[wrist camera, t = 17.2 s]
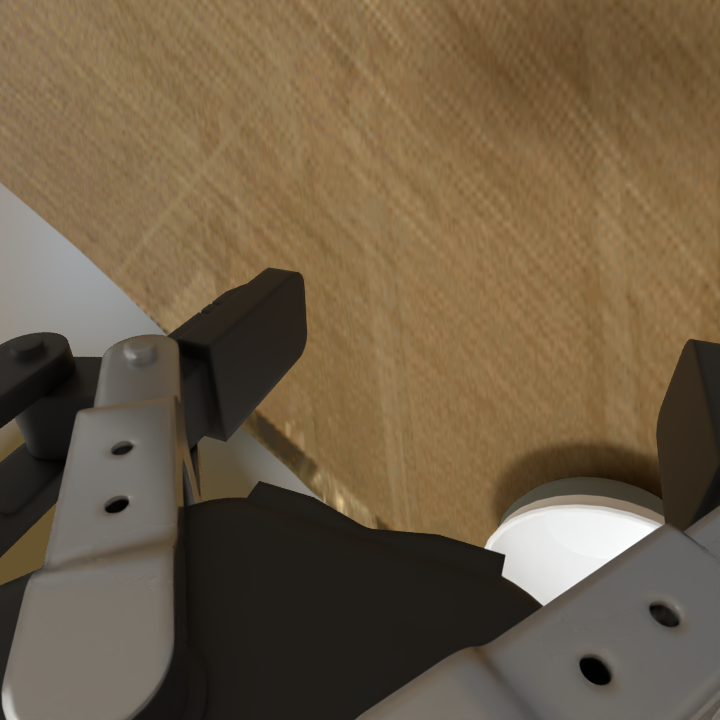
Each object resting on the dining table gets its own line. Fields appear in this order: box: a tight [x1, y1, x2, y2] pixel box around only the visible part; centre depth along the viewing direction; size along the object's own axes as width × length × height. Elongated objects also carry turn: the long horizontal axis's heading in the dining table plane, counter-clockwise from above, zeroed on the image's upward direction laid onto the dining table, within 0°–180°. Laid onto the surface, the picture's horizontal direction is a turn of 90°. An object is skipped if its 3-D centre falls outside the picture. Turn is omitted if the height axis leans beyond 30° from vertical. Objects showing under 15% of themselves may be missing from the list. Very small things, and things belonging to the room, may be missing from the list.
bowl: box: [485, 477, 665, 606], centre depth 49 cm, size 19×19×8 cm
